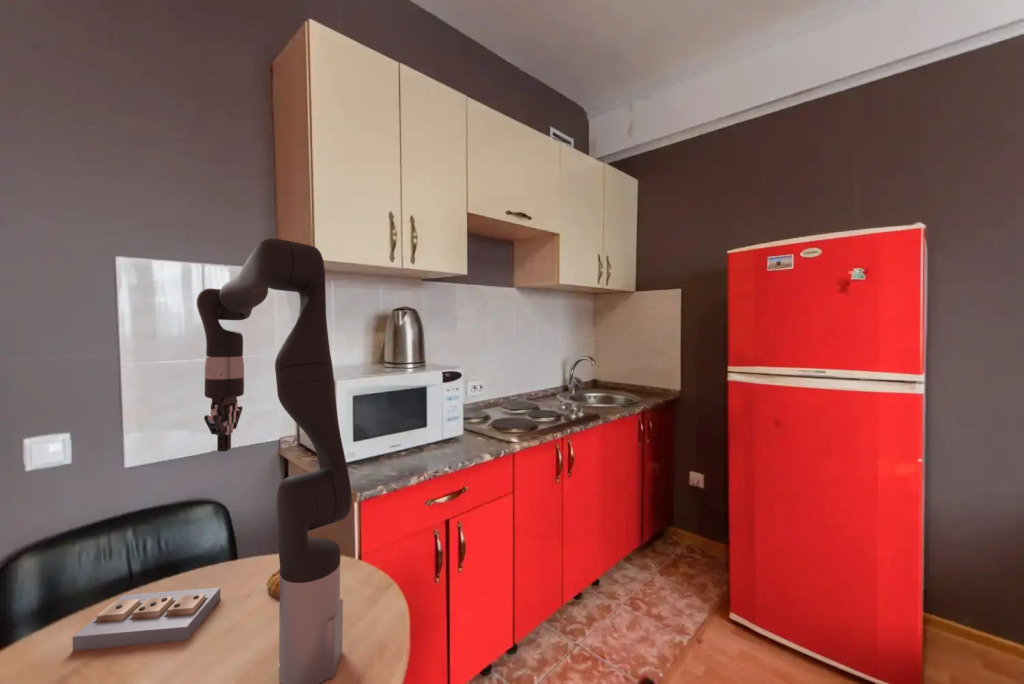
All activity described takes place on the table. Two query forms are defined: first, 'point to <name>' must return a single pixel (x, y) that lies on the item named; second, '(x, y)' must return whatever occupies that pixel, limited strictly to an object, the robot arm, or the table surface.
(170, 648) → the table surface
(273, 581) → the pastry
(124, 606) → the button
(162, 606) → the button
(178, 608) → the button
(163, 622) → the panel
